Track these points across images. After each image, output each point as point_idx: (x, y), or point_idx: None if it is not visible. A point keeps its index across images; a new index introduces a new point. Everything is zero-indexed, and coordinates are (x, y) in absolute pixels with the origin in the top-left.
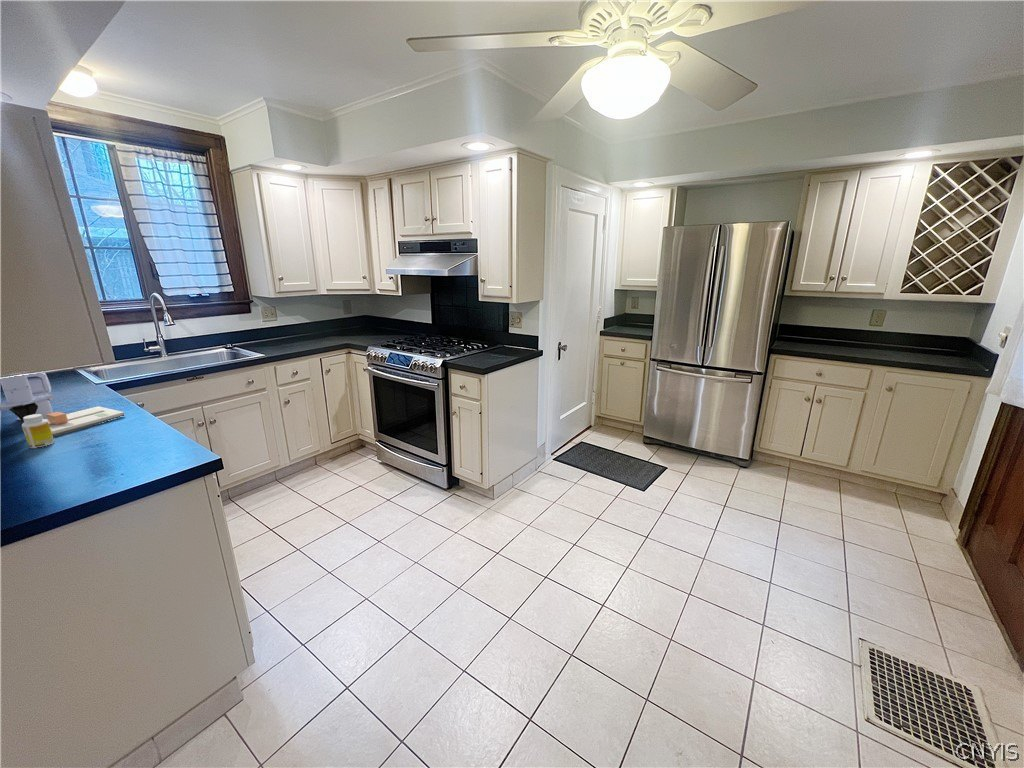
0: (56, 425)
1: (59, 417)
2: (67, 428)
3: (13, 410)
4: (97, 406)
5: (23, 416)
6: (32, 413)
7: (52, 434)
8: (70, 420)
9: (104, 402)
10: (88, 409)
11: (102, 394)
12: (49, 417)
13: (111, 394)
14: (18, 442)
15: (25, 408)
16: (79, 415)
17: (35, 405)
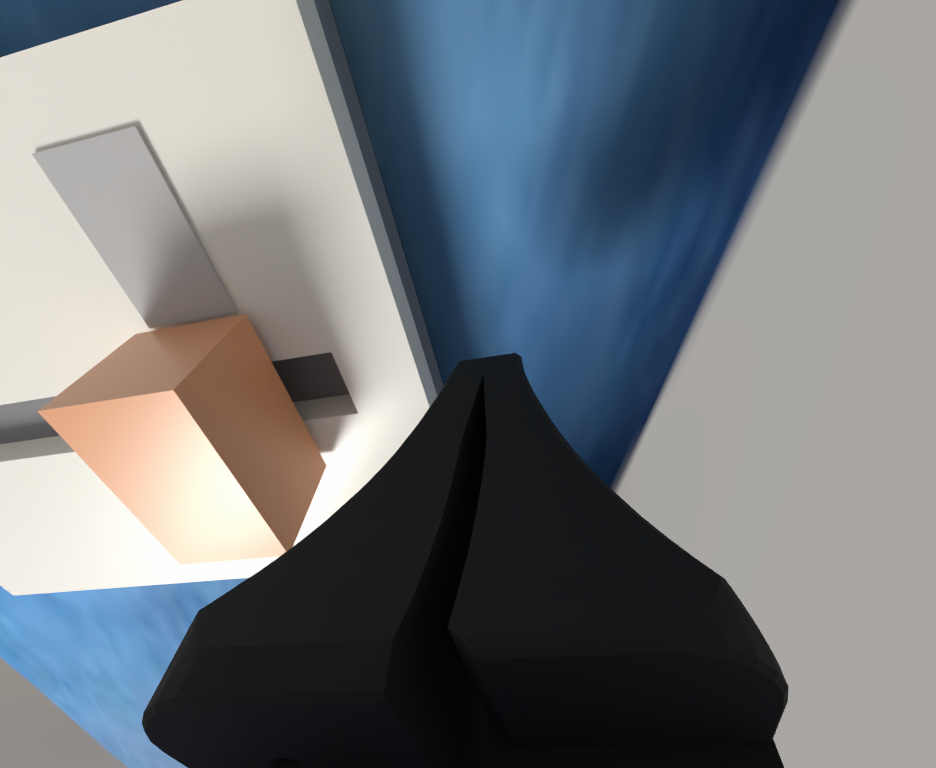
0: (256, 302)
1: (145, 376)
2: (106, 29)
3: (757, 729)
4: (19, 594)
5: (565, 467)
6: (393, 503)
7: (327, 30)
8: None
9: (80, 663)
10: (66, 574)
11: (131, 746)
12: (274, 480)
13: (85, 729)
14: (677, 158)
15: (461, 710)
16: (92, 479)
17: (188, 726)
